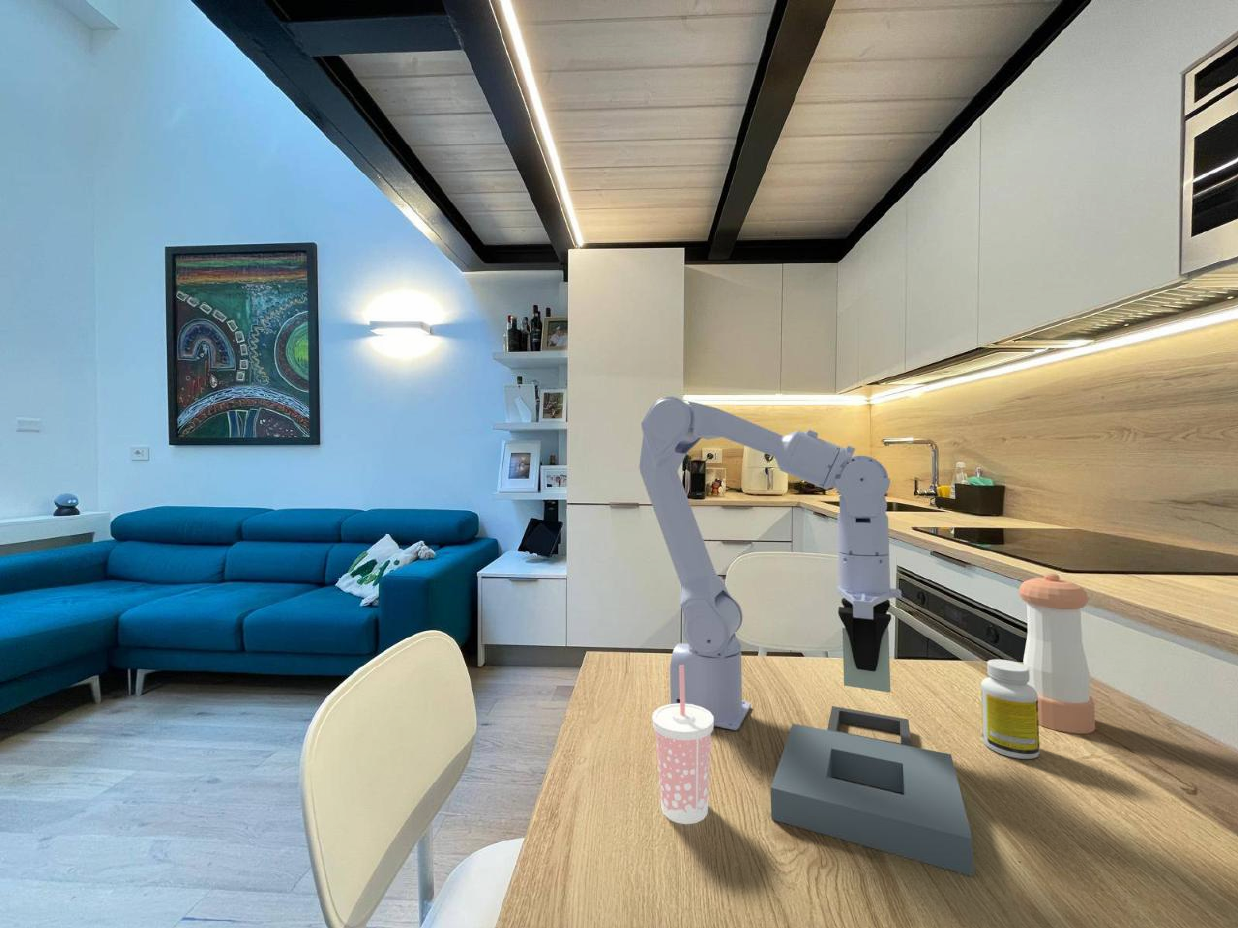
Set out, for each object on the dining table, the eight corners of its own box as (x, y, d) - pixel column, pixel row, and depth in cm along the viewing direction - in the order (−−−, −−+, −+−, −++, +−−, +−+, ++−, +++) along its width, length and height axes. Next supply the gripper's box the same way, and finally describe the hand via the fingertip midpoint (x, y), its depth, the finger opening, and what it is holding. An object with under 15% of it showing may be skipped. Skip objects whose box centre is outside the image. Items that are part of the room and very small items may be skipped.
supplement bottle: (1051, 763, 57) (1047, 674, 57) (996, 758, 58) (993, 672, 59) (1023, 738, 63) (1020, 658, 63) (973, 734, 64) (971, 655, 64)
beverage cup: (696, 784, 54) (694, 651, 55) (728, 819, 49) (724, 671, 49) (644, 797, 52) (641, 659, 53) (670, 836, 47) (667, 681, 47)
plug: (844, 685, 62) (842, 619, 63) (845, 673, 66) (844, 611, 66) (890, 692, 60) (888, 624, 60) (889, 680, 64) (887, 615, 64)
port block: (771, 819, 49) (770, 787, 49) (793, 748, 61) (792, 723, 61) (973, 876, 41) (972, 838, 41) (952, 783, 54) (951, 754, 54)
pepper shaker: (1040, 703, 72) (1034, 566, 72) (1106, 725, 65) (1100, 575, 66) (1010, 714, 69) (1005, 571, 69) (1077, 739, 62) (1071, 581, 63)
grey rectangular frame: (826, 745, 62) (826, 732, 62) (832, 717, 69) (832, 705, 69) (912, 763, 58) (912, 749, 58) (908, 731, 65) (908, 719, 65)
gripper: (902, 563, 55) (906, 690, 55) (897, 546, 68) (900, 649, 68) (832, 559, 58) (835, 680, 58) (840, 544, 71) (843, 642, 71)
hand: (866, 662), depth 63 cm, fingers closed on plug, 4 cm apart
